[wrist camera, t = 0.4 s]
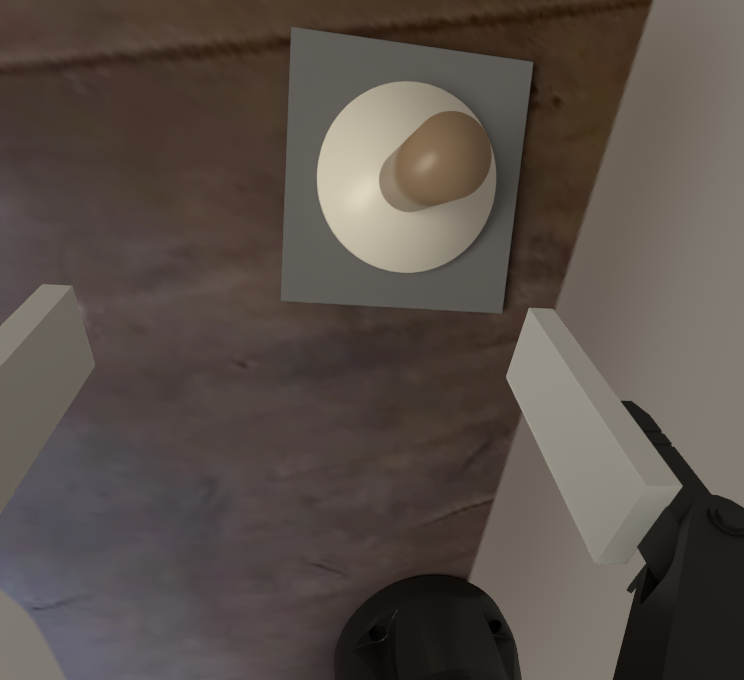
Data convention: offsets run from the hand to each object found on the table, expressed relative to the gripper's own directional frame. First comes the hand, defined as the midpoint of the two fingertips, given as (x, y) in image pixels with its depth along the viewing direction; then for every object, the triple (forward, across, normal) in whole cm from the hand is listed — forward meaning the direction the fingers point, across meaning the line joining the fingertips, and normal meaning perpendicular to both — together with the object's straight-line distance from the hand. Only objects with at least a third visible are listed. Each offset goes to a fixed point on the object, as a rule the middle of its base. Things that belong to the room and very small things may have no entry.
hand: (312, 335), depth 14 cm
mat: (+21, -6, +2) cm, 22 cm away
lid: (+20, -6, +1) cm, 21 cm away
